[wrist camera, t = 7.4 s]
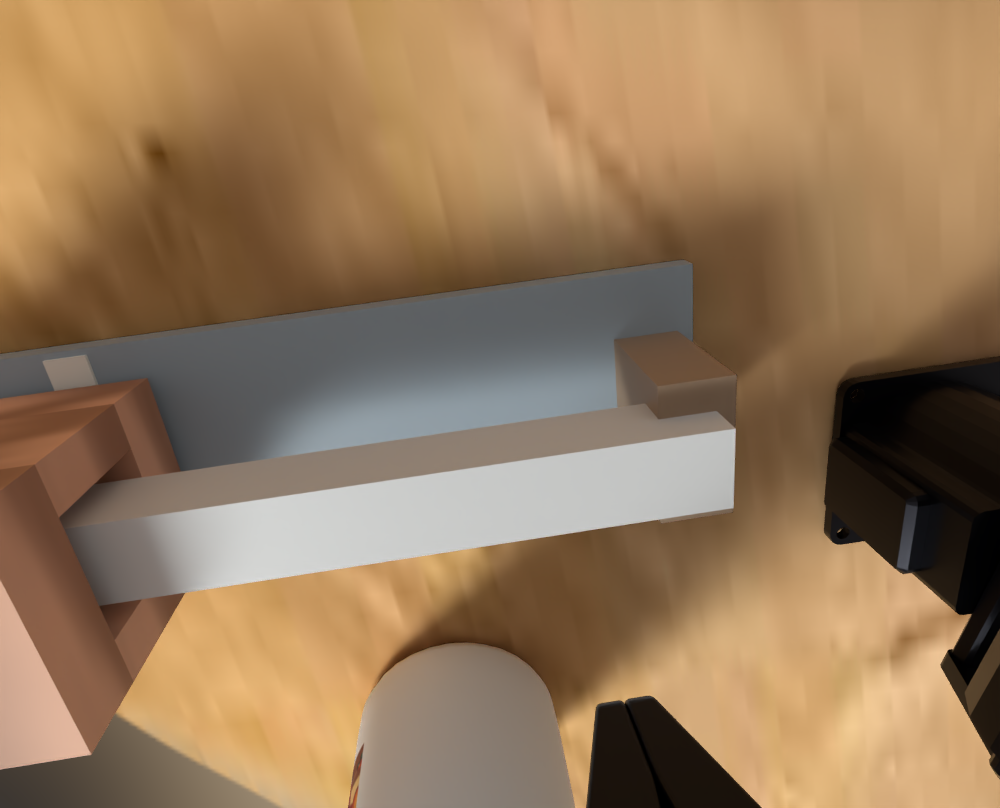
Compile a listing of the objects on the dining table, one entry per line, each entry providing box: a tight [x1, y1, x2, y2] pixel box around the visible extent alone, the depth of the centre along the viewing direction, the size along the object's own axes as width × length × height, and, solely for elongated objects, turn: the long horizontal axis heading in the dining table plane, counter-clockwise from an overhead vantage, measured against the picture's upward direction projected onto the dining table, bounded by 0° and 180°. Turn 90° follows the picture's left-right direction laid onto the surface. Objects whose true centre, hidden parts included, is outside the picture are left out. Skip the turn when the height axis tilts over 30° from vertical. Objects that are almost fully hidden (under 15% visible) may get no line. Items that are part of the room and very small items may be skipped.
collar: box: [0, 378, 185, 769], centre depth 16 cm, size 5×6×7 cm
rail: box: [0, 260, 737, 606], centre depth 18 cm, size 25×8×6 cm, turn 96°
